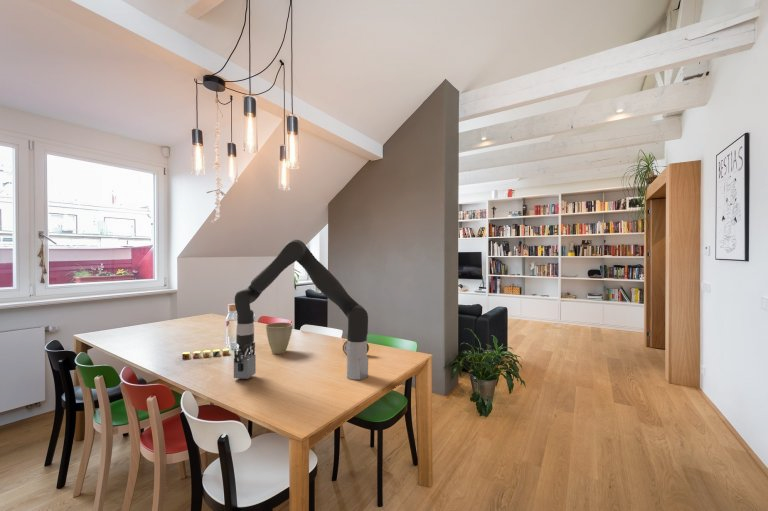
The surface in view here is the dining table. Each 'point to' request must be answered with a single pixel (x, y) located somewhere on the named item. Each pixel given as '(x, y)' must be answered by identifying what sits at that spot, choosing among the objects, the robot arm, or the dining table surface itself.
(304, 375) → the dining table surface
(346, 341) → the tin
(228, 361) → the dining table surface
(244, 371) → the matte grey cube
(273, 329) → the plant pot
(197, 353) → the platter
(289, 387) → the dining table surface
